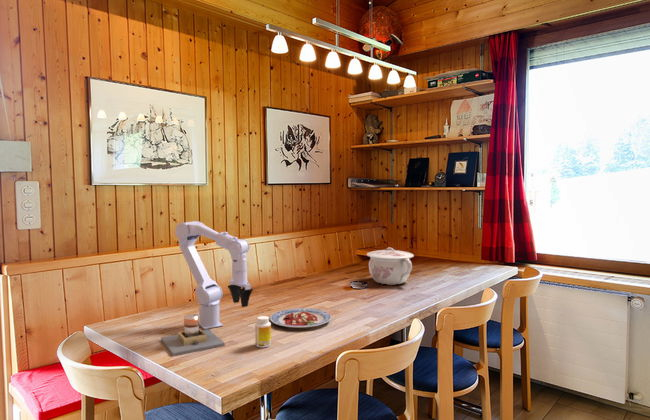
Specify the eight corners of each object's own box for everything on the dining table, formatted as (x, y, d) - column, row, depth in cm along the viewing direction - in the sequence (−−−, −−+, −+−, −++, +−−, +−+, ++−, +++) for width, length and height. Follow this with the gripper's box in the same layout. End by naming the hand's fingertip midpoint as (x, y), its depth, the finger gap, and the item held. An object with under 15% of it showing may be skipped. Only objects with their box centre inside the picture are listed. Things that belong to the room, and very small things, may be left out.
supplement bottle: (274, 345, 162) (274, 317, 161) (262, 349, 158) (261, 320, 157) (264, 341, 166) (264, 314, 165) (252, 345, 162) (252, 317, 161)
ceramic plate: (262, 316, 196) (262, 310, 196) (317, 310, 206) (317, 303, 206) (280, 335, 172) (280, 328, 172) (341, 327, 183) (341, 320, 182)
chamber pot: (367, 276, 277) (367, 243, 275) (412, 278, 273) (412, 244, 272) (364, 287, 249) (365, 250, 248) (415, 289, 245) (415, 251, 244)
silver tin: (196, 336, 167) (195, 313, 167) (200, 340, 163) (200, 316, 163) (182, 339, 164) (182, 315, 164) (187, 343, 160) (186, 319, 160)
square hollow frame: (177, 337, 166) (176, 331, 166) (199, 333, 171) (198, 327, 170) (184, 346, 157) (184, 340, 157) (207, 342, 162) (207, 335, 161)
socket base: (161, 340, 167) (161, 337, 167) (208, 331, 176) (208, 328, 176) (173, 356, 152) (173, 353, 151) (224, 345, 161) (224, 343, 161)
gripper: (222, 269, 180) (223, 302, 181) (238, 274, 168) (239, 310, 169) (238, 266, 184) (239, 299, 185) (255, 272, 172) (255, 306, 173)
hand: (240, 304), depth 177 cm, fingers open, 7 cm apart
